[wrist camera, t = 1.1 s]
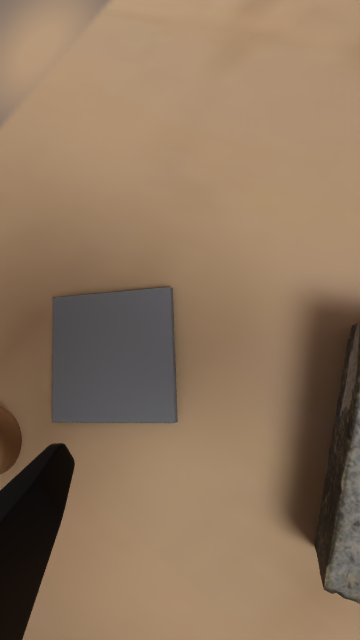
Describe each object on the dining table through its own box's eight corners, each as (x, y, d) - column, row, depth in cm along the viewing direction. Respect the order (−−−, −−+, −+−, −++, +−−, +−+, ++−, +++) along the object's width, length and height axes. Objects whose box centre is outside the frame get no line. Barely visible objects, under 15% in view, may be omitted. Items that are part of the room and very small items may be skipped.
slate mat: (177, 421, 22) (175, 423, 21) (57, 420, 24) (52, 422, 23) (172, 288, 23) (170, 286, 22) (57, 298, 25) (53, 297, 24)
